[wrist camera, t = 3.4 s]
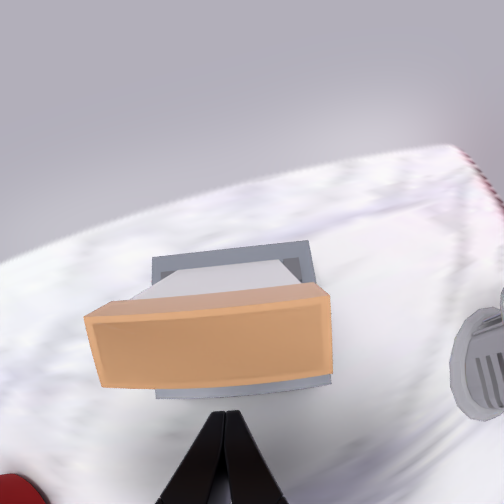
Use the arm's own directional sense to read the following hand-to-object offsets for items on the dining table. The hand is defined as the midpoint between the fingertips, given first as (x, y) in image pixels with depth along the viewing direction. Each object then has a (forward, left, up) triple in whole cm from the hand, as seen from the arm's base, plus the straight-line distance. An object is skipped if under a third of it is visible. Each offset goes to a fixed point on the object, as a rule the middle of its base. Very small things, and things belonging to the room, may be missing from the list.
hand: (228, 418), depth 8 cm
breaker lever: (+3, -5, -5) cm, 8 cm away
